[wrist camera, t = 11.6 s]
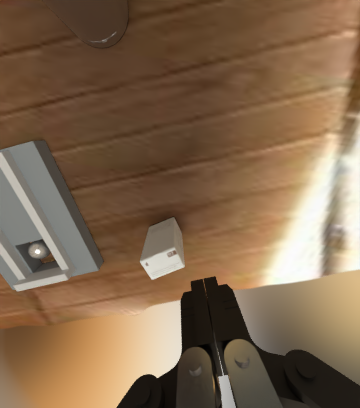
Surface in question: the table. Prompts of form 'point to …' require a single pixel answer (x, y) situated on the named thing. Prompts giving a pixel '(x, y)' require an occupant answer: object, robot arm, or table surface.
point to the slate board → (40, 220)
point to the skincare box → (163, 249)
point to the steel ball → (38, 249)
